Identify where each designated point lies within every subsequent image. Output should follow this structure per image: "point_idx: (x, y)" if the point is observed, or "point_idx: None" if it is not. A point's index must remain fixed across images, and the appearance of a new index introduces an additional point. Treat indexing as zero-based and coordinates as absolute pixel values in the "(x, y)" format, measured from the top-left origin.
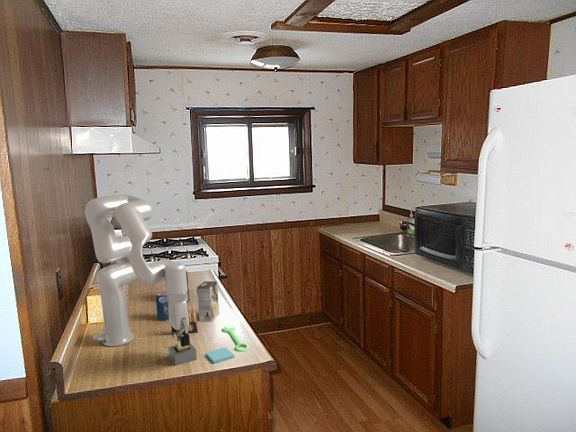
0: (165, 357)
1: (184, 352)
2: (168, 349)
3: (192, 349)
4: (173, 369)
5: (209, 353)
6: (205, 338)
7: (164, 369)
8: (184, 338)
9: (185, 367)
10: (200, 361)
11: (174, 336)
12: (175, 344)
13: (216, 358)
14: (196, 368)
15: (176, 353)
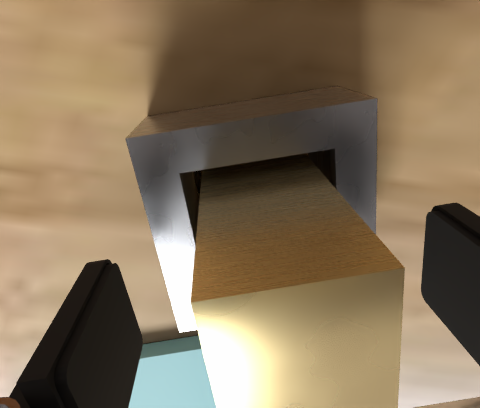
0: (350, 52)
1: (154, 238)
2: (363, 95)
3: (186, 308)
4: (80, 88)
5: (197, 363)
6: (468, 358)
7: (108, 5)
8: (21, 397)
9: (84, 185)
10: (143, 291)
11: (348, 237)
12: (298, 190)
13: None
14: (41, 254)
15: (161, 163)
